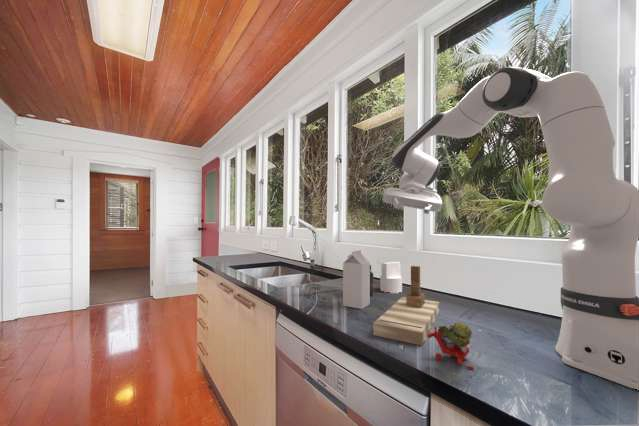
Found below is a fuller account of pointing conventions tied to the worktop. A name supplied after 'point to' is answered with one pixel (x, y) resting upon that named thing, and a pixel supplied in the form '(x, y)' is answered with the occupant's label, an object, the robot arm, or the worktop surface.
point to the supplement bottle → (371, 282)
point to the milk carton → (356, 281)
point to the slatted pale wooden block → (407, 322)
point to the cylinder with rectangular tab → (391, 277)
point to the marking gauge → (415, 289)
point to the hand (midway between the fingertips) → (412, 209)
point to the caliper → (319, 287)
